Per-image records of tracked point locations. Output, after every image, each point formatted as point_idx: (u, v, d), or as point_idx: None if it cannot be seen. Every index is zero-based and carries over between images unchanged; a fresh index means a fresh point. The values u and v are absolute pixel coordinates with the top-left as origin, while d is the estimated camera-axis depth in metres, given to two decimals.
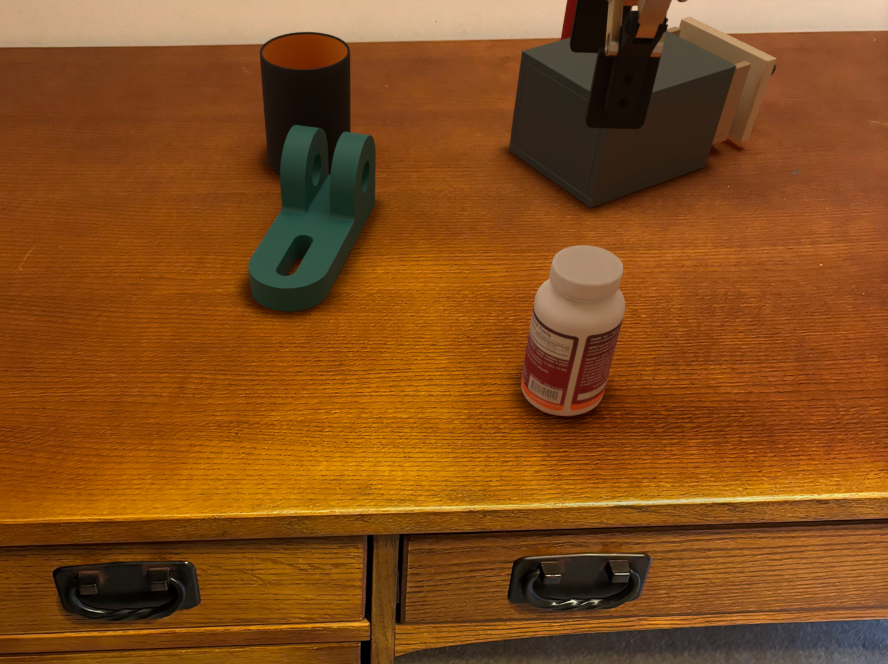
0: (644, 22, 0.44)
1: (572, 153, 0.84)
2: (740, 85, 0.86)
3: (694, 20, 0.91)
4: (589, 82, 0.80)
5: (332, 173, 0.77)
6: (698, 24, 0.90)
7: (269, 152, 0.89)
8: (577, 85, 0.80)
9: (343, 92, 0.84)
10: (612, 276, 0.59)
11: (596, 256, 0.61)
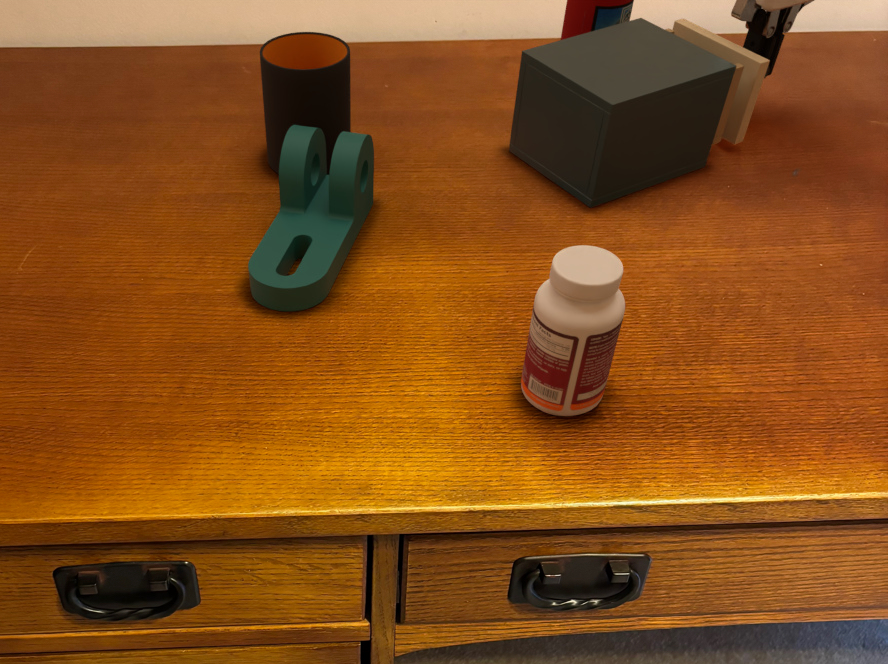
0: None
1: (572, 153, 0.84)
2: (733, 87, 0.86)
3: (687, 22, 0.91)
4: (589, 82, 0.80)
5: (331, 173, 0.77)
6: (691, 26, 0.90)
7: (269, 152, 0.89)
8: (577, 85, 0.80)
9: (343, 92, 0.84)
10: (612, 276, 0.59)
11: (596, 256, 0.61)
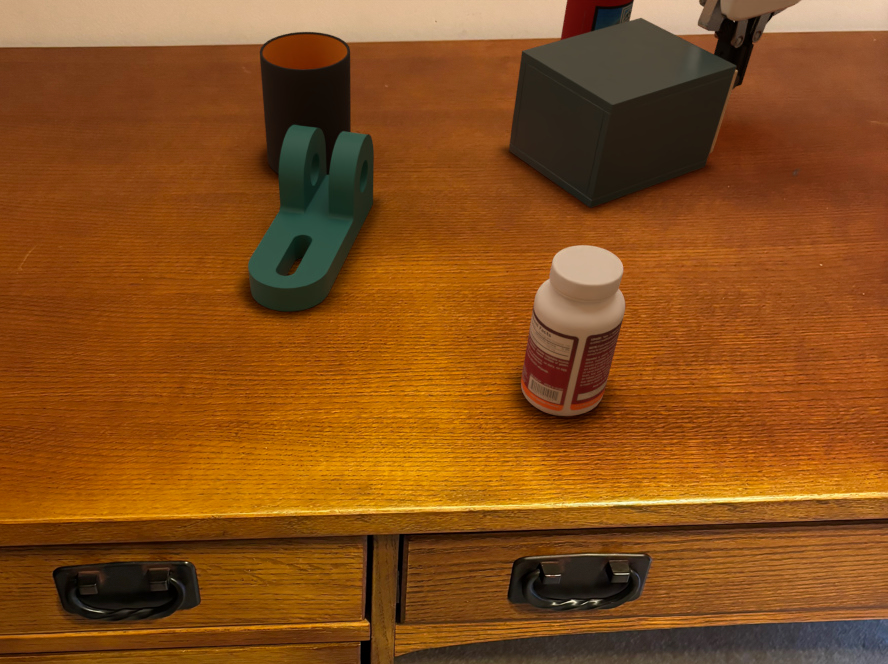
0: None
1: (572, 153, 0.84)
2: None
3: None
4: (589, 82, 0.80)
5: (331, 173, 0.77)
6: None
7: (269, 152, 0.89)
8: (577, 85, 0.80)
9: (343, 92, 0.84)
10: (612, 276, 0.59)
11: (596, 256, 0.61)
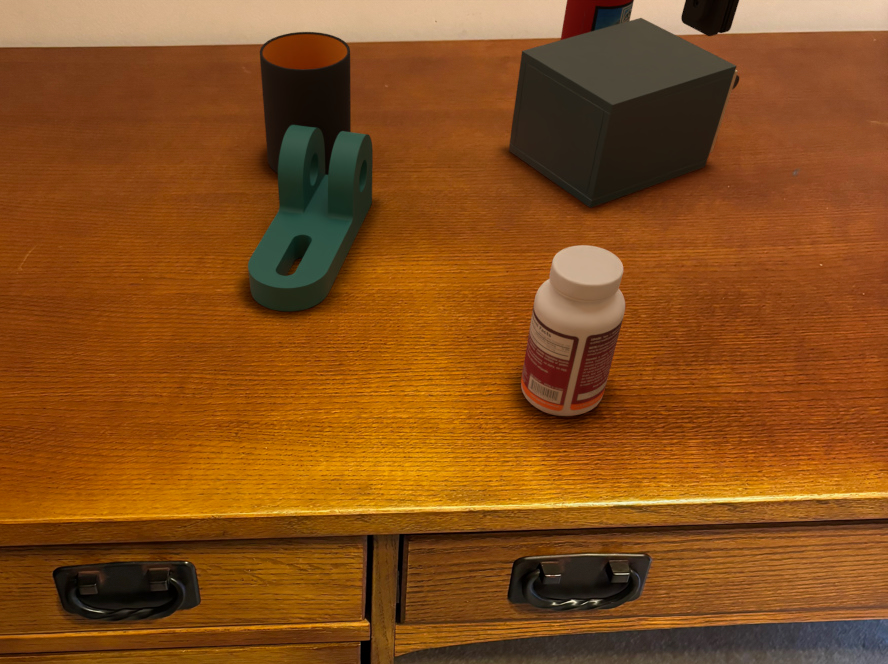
0: None
1: (572, 153, 0.84)
2: None
3: None
4: (589, 82, 0.80)
5: (330, 172, 0.77)
6: None
7: (269, 152, 0.89)
8: (577, 85, 0.80)
9: (343, 92, 0.84)
10: (612, 276, 0.59)
11: (596, 256, 0.61)
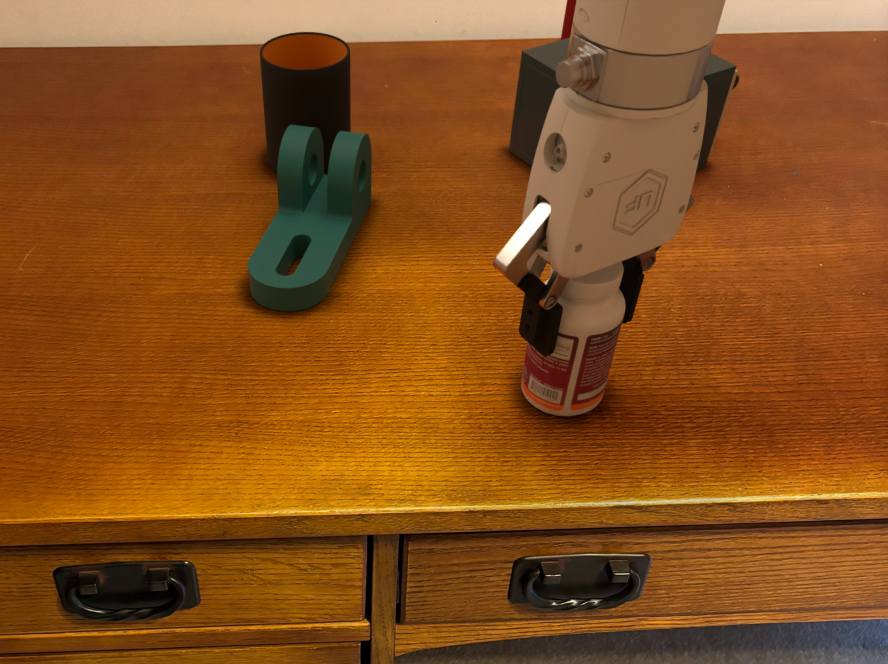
0: (507, 278, 0.57)
1: None
2: None
3: None
4: None
5: (329, 172, 0.77)
6: None
7: (269, 152, 0.89)
8: None
9: (343, 92, 0.84)
10: (612, 276, 0.59)
11: None
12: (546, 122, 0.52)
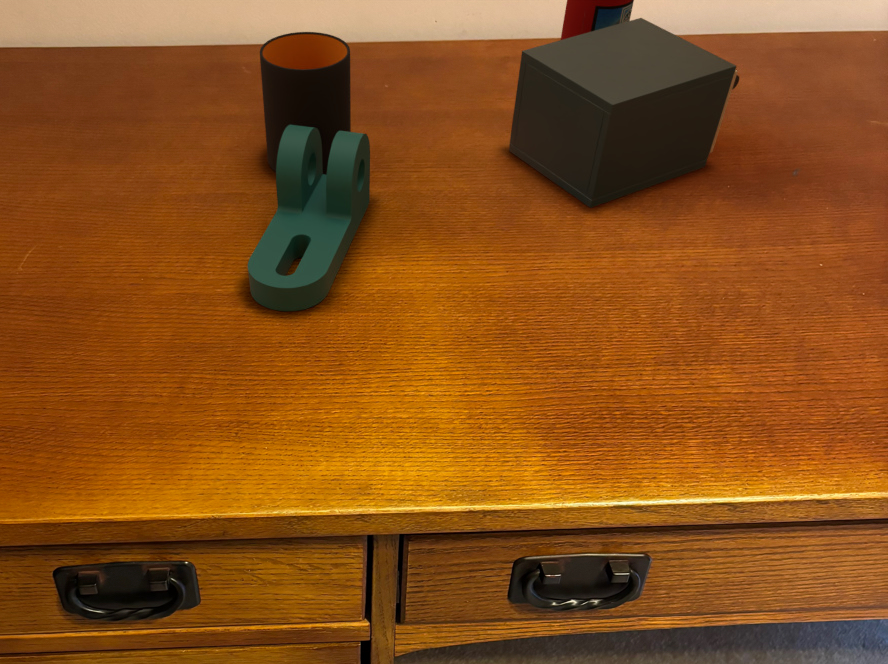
0: None
1: (572, 153, 0.84)
2: None
3: None
4: (589, 82, 0.80)
5: (328, 172, 0.78)
6: None
7: (269, 152, 0.89)
8: (577, 85, 0.80)
9: (343, 92, 0.84)
10: None
11: None
12: None
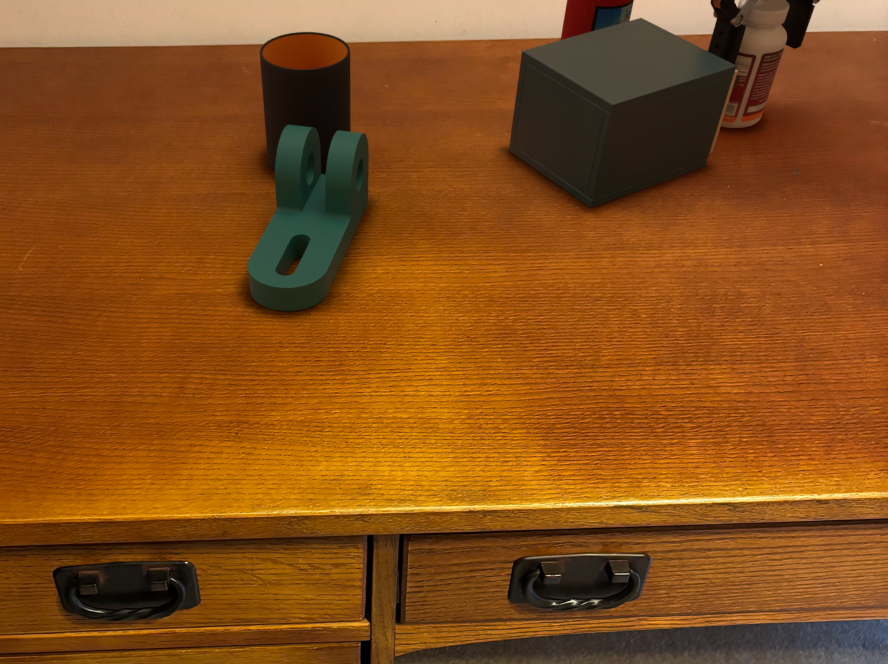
0: None
1: (572, 153, 0.84)
2: None
3: None
4: (589, 82, 0.80)
5: (327, 172, 0.78)
6: None
7: (269, 152, 0.89)
8: (577, 85, 0.80)
9: (343, 92, 0.84)
10: (783, 8, 0.87)
11: None
12: None
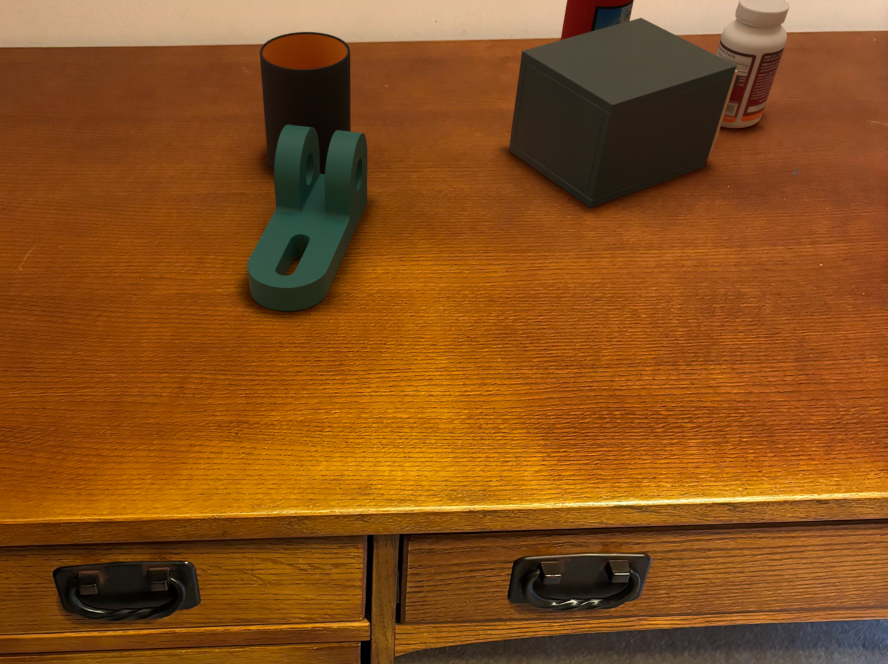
0: None
1: (572, 153, 0.84)
2: None
3: None
4: (589, 82, 0.80)
5: (327, 172, 0.78)
6: None
7: (269, 152, 0.89)
8: (577, 85, 0.80)
9: (343, 92, 0.84)
10: (783, 8, 0.87)
11: None
12: None
